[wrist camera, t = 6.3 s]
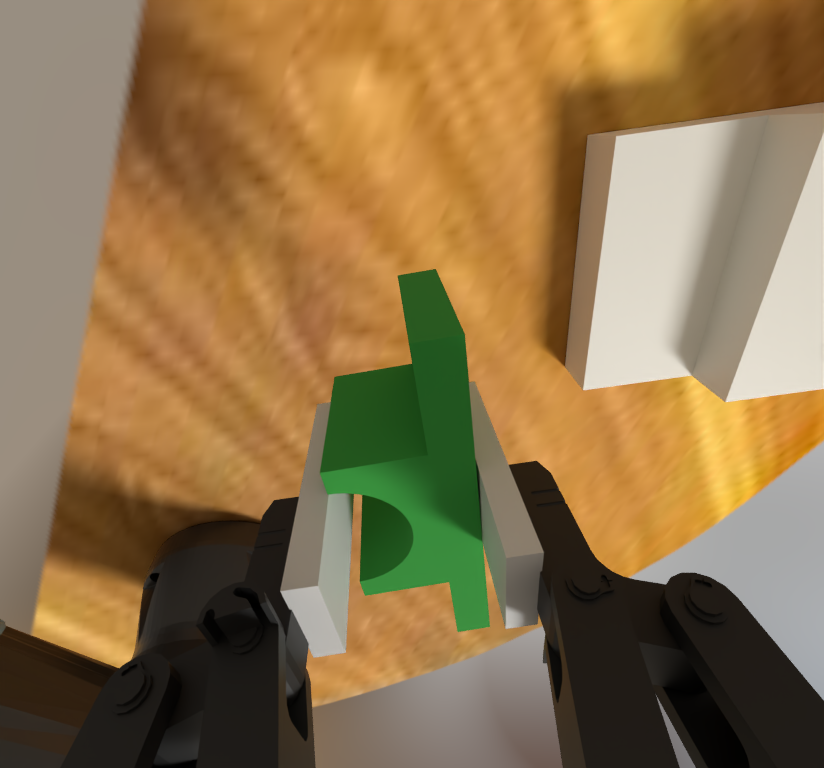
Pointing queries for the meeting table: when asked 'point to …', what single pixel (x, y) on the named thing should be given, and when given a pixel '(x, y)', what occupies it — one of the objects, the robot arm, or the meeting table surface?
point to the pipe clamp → (414, 459)
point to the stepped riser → (703, 255)
